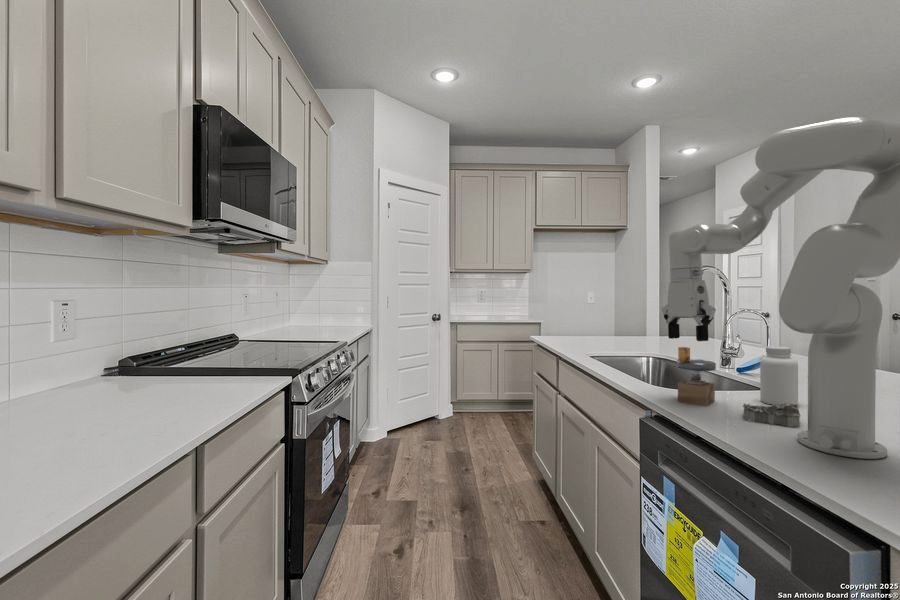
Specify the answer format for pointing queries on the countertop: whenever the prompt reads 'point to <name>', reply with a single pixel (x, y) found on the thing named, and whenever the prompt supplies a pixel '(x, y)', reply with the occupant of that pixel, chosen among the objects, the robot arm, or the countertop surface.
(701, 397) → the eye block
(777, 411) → the egg carton
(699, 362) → the grey knobbed disc
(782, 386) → the pill bottle
